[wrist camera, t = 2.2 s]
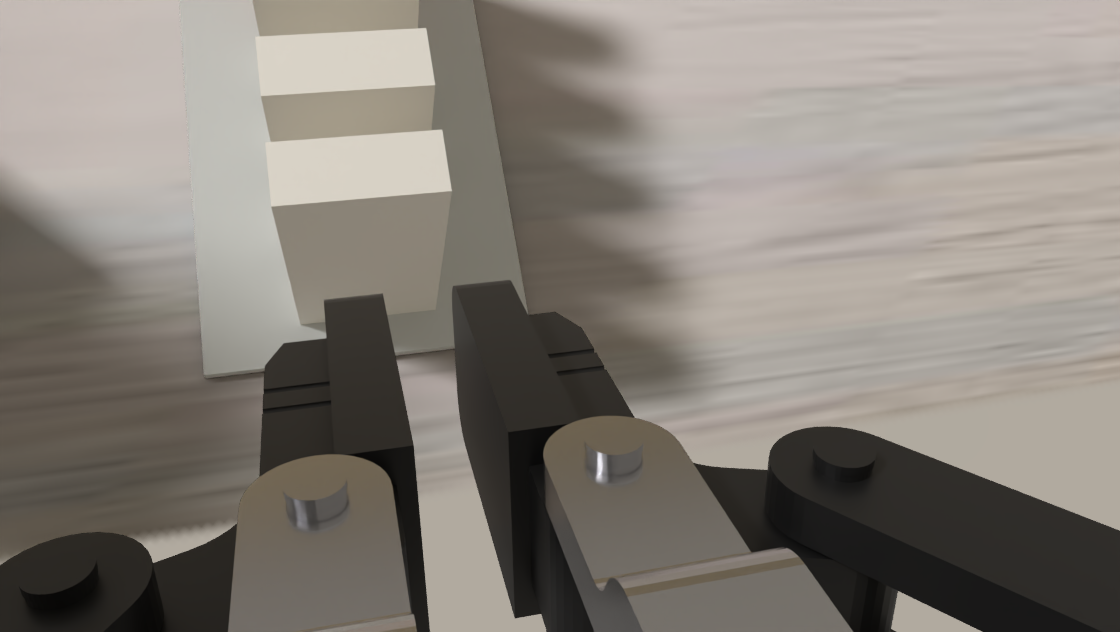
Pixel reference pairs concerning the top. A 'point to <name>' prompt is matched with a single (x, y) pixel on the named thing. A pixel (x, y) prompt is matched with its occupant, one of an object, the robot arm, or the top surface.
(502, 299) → the robot arm
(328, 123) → the domino
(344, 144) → the domino
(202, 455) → the top surface
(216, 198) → the mat
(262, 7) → the domino
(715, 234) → the top surface
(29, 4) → the top surface
